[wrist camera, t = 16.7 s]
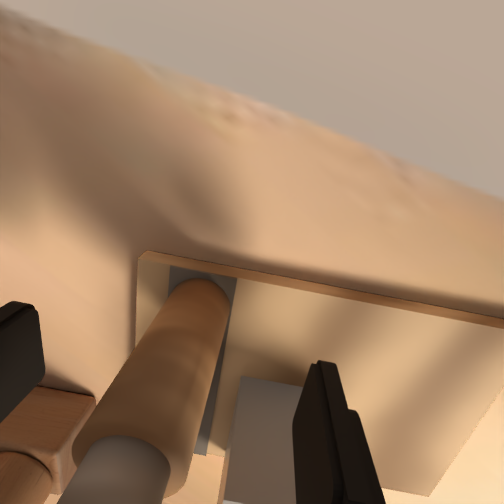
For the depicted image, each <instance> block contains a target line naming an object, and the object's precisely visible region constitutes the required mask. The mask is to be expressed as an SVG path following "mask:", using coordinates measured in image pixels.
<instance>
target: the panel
mask: <svg viewBox="0 0 504 504" xmlns="http://www.w3.org/2000/svg"><path fill="white" fill-rule="evenodd" d="M192 278H202V279H207V280H209V281H212V282H214V283H216V284H217V285H219V286H220V287H221V288H222V289H223V290H224V291H225V293H226V294H227V296H228V299H229V302H230V313H229V317H228V320H227V324H226V328H225V332H224V336H223V340H222V344H221V347H220V351H219V355H218V359H217V363H216V367H215V371H214V375H213V378H212V382H211V386H210V390H209V394H208V398H207V402H206V405H205V409H204V413H203V417H202V421H201V425H200V429H199V433H198V436H197V440H196V444H195V448H194V452H193V453H194V454H199V455H205V456H206V454H210V455H216V456H221V457H225V451H226V446H227V442H228V437H229V432H230V427H231V422H232V417H233V413H234V408H235V403H236V398H237V393H238V388H239V383H240V379H241V376H246V377H252V378H257V379H262V380H268V381H273V382H278V383H283V384H289V385H294V386H299V387H304V384H305V381H306V378H307V375H308V372H309V368H310V366H311V364H312V363H314V364H316V363H317V361H318V360H322V361H327V362H333V363H336V365H337V368H338V372H339V375H340V379H341V383H342V387H343V390H344V394H345V398H346V401H347V405H348V409H352V410H356V411H357V413H358V414H359V417H360V419H361V423H362V426H363V429H364V433H365V436H366V439H367V443H368V446H369V449H370V453H371V456H372V459H373V463H374V466H375V469H376V473H377V476H378V479H379V482H380V486H381V488H385V489H391V490H396V491H401V492H406V493H411V494H416V495H421V496H427V497H429V496H430V494H431V493H432V491H433V490H434V488H435V487H436V485H437V484H438V482H439V481H440V480H441V478H442V477H443V475H444V474H445V472H446V471H447V469H448V468H449V466H450V465H451V463H452V462H453V460H454V459H455V458H456V456H457V455H458V453H459V452H460V450H461V449H462V447H463V446H464V444H465V443H466V441H467V440H468V438H469V437H470V436H471V434H472V433H473V431H474V430H475V428H476V427H477V425H478V424H479V422H480V421H481V419H482V418H483V416H484V415H485V414H486V412H487V411H488V409H489V408H490V406H491V405H492V403H493V402H494V400H495V399H496V397H497V396H498V394H499V393H500V392H501V390H502V389H503V387H504V319H501V318H496V317H491V316H485V315H480V314H475V313H470V312H465V311H459V310H454V309H449V308H444V307H439V306H433V305H428V304H423V303H418V302H413V301H407V300H402V299H397V298H392V297H387V296H381V295H376V294H371V293H366V292H361V291H356V290H350V289H345V288H340V287H335V286H330V285H324V284H319V283H314V282H309V281H304V280H298V279H293V278H288V277H283V276H278V275H272V274H267V273H262V272H257V271H252V270H246V269H241V268H236V267H231V266H226V265H220V264H215V263H210V262H205V261H200V260H194V259H189V258H184V257H179V256H174V255H168V254H163V253H158V252H153V251H148V250H147V251H146V252H144V253H143V254H142V255H141V256H140V257H139V258H138V263H137V299H136V335H135V347H136V346H137V344H138V343H139V341H140V340H141V338H142V337H143V335H144V334H145V332H146V330H147V329H148V327H149V326H150V324H151V323H152V321H153V320H154V318H155V317H156V315H157V314H158V312H159V311H160V309H161V308H162V306H163V305H164V303H165V302H166V300H167V299H168V297H169V296H170V294H171V293H172V291H173V290H174V288H175V287H176V286H177V285H178V284H179V283H181V282H183V281H185V280H187V279H192Z"/></svg>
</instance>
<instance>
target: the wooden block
mask: <svg viewBox="0 0 504 504" xmlns="http://www.w3.org/2000/svg"><path fill="white" fill-rule="evenodd" d="M95 408H96V400H95V398H94V397H92V396H86V395H81V394H76V393H71V392H65V391H60V390H55V389H49V388H44V387H39V386H36V387H35V388H34V389H33V390H32V391H31V392H30V393H29V394H28V395H27V396H26V397H25V398H24V399H23V400H22V401H21V402H20V403H19V404H18V405H17V406H16V407H15V409H14V410H13V411H12V412H11V413H10V414H9V415H8V416H7V417H6V418H5V419H4V420H3V421H2V422H1V423H0V504H44V502H45V500H46V499H47V497H48V496H49V494H50V493H52V494H57V495H59V494H62V493H63V492H64V490H65V489H66V487H67V485H68V484H69V482H70V480H71V479H72V477H73V475H74V474H75V472H76V470H77V467H76V465H75V464H74V461H73V458H72V444H73V442H74V439H75V438H76V436H77V435H78V433H79V432H80V430H81V429H82V427H83V426H84V424H85V423H86V421H87V420H88V418H89V417H90V415H91V414H92V412H93V411H94V409H95Z"/></svg>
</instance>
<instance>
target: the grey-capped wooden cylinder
mask: <svg viewBox="0 0 504 504" xmlns="http://www.w3.org/2000/svg"><path fill="white" fill-rule="evenodd" d="M229 313H230V302H229V299H228V296H227V294H226V293H225V291H224V290H223V289H222V288H221V287H220V286H219V285H217V284H216V283H214V282H212V281H209V280H207V279H202V278H192V279H187V280H185V281H183V282H181V283H179V284H178V285H177V286H176V287H175V288H174V290H173V291H172V293H171V294H170V296H169V297H168V299H167V300H166V302H165V303H164V305H163V306H162V308H161V309H160V311H159V312H158V314H157V315H156V317H155V318H154V320H153V321H152V323H151V324H150V326H149V327H148V329H147V330H146V332H145V334H144V335H143V337H142V338H141V340H140V341H139V343H138V344H137V346H136V347H135V349H134V350H133V352H132V353H131V355H130V356H129V358H128V359H127V361H126V362H125V364H124V365H123V367H122V368H121V370H120V371H119V373H118V374H117V376H116V377H115V379H114V380H113V382H112V383H111V385H110V386H109V388H108V389H107V391H106V392H105V394H104V395H103V397H102V399H101V400H100V402H99V403H98V405H97V406H96V408H95V409H94V411H93V412H92V414H91V415H90V417H89V418H88V420H87V421H86V423H85V424H84V426H83V427H82V429H81V430H80V432H79V433H78V435H77V436H76V438H75V439H74V442H73V444H72V458H73V461H74V464H75V465H76V467H77V470H76V472H75V474H74V475H73V477H72V479H71V480H70V482H69V484H68V485H67V487H66V489H65V490H64V492H63V494H62V496H61V497H60V499H59V501H58V502H57V504H161V503H162V500H163V499H164V498H167V497H169V496H171V495H173V494H175V493H176V492H178V491H179V490H180V489H181V488H182V487H183V485H184V484H185V482H186V479H187V475H188V471H189V467H190V463H191V460H192V456H193V452H194V448H195V444H196V440H197V436H198V433H199V429H200V425H201V421H202V417H203V413H204V409H205V405H206V402H207V398H208V394H209V390H210V386H211V382H212V378H213V375H214V371H215V367H216V363H217V359H218V355H219V351H220V347H221V344H222V340H223V336H224V332H225V328H226V324H227V320H228V317H229Z"/></svg>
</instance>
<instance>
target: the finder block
mask: <svg viewBox="0 0 504 504" xmlns="http://www.w3.org/2000/svg"><path fill="white" fill-rule="evenodd" d="M302 390H303V387H299V386H294V385H289V384H283V383H278V382H273V381H268V380H262V379H257V378H252V377H246V376H241V379H240V383H239V388H238V393H237V398H236V403H235V408H234V413H233V417H232V422H231V427H230V432H229V437H228V442H227V446H226V451H225V458H224V464H223V470H222V477H221V483H220V489H219V496H218V502H217V504H296V491H295V474H294V456H293V439H292V422H293V417H294V414H295V411H296V408H297V405H298V402H299V399H300V396H301V393H302Z"/></svg>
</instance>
